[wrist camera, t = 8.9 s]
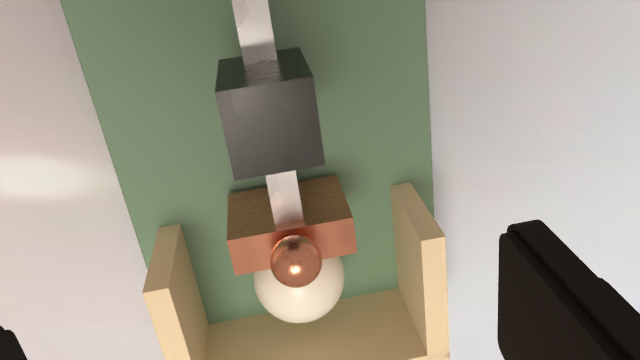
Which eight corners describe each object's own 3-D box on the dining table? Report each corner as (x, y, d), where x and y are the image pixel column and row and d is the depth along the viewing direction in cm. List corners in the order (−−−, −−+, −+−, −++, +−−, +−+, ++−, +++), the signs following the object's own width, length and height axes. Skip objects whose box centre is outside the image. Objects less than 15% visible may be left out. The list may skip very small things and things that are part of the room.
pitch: (-25, -285, 22) (-131, -365, 15) (402, -334, 23) (466, -429, 16) (174, 336, 36) (161, 426, 29) (432, 286, 37) (472, 363, 30)
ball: (264, 351, 29) (260, 292, 34) (356, 333, 30) (340, 277, 34) (246, 275, 27) (244, 223, 32) (346, 256, 27) (331, 207, 32)
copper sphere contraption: (173, -42, 25) (150, -26, 18) (306, -62, 25) (331, -53, 18) (236, 228, 31) (235, 315, 24) (341, 209, 31) (369, 289, 25)
